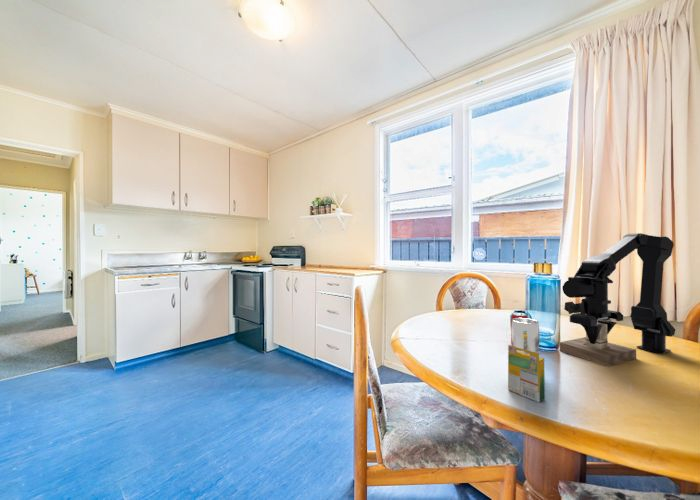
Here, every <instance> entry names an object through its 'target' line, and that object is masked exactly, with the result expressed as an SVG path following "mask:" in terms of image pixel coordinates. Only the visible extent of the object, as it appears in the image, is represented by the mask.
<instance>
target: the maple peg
mask: <svg viewBox="0 0 700 500" xmlns="http://www.w3.org/2000/svg"><path fill="white" fill-rule="evenodd" d="M598 325H602V327H601V330H600V332H599V335H598V338H597V340H596V342H595V344H591V343H590V341H589V338H588V336H587V333H586V332H585V337H586V345H587V346H590V347H594V348H598V349H606V348H607V342H609V340H608V335H607V324H602V323H598Z"/></svg>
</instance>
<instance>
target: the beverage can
mask: <svg viewBox="0 0 700 500" xmlns="http://www.w3.org/2000/svg"><path fill="white" fill-rule="evenodd" d="M514 318H528V315H527V314H526V313H522V312H513V313H511V315H510V320H511V321H510V331H511V332H510V336H511V337H510V340H511V341H510V342H511V346H513V342H512V319H514ZM528 319H529V318H528Z"/></svg>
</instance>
